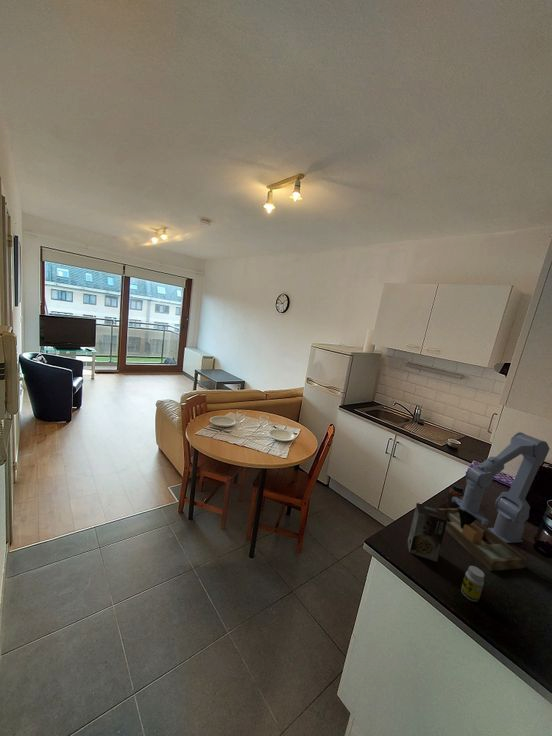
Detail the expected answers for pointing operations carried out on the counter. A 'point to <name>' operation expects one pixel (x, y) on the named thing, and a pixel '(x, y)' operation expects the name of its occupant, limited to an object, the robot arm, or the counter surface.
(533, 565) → the counter surface
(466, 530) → the block
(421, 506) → the coffee box
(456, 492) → the supplement bottle
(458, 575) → the counter surface
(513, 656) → the counter surface
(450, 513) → the trap box
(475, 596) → the supplement bottle
